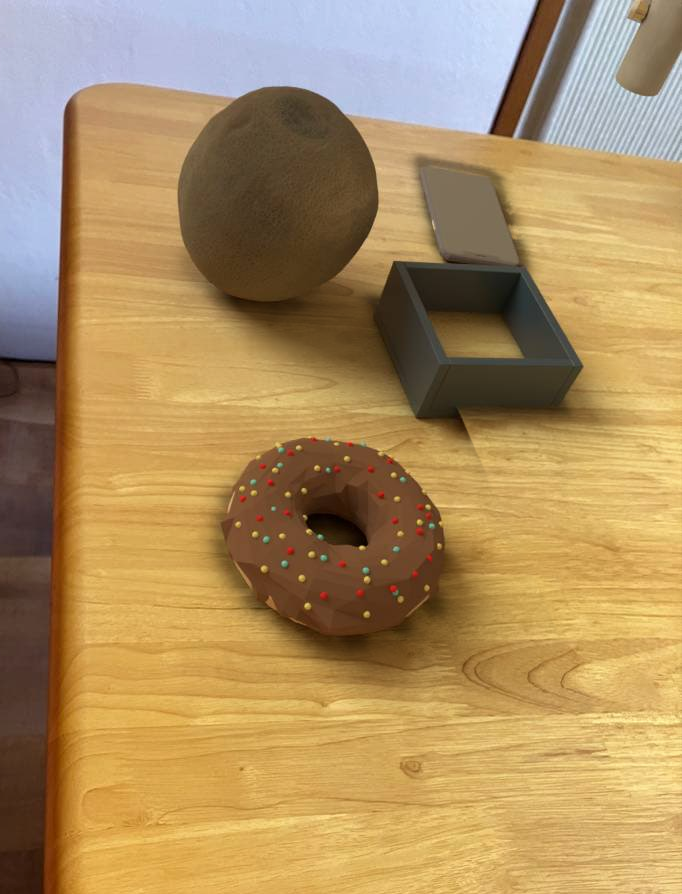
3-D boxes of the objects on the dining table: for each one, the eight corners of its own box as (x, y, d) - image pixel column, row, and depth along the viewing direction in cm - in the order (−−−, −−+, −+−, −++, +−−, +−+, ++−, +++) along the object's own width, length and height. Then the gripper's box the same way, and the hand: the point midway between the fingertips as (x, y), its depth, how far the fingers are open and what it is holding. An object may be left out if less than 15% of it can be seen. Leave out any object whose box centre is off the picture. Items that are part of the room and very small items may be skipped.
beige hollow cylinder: (614, 87, 85) (672, -31, 77) (614, 68, 88) (670, -48, 80) (659, 102, 85) (722, -15, 77) (657, 82, 88) (718, -32, 80)
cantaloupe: (194, 349, 65) (227, 158, 53) (150, 232, 72) (171, 43, 61) (366, 340, 69) (431, 163, 58) (308, 232, 77) (356, 56, 65)
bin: (499, 319, 75) (526, 266, 71) (551, 417, 68) (584, 366, 64) (373, 315, 72) (393, 260, 68) (415, 418, 65) (440, 364, 61)
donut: (241, 451, 59) (254, 397, 56) (435, 505, 60) (462, 455, 56) (192, 625, 50) (204, 575, 47) (421, 685, 51) (452, 641, 47)
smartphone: (492, 176, 88) (523, 266, 79) (488, 185, 89) (518, 275, 79) (419, 163, 86) (442, 253, 77) (416, 172, 87) (439, 262, 78)
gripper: (636, -183, 78) (566, -31, 79) (860, -103, 76) (785, 52, 77) (618, -133, 84) (554, 7, 86) (825, -58, 82) (756, 85, 84)
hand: (665, 29), depth 81 cm, fingers closed on beige hollow cylinder, 4 cm apart
